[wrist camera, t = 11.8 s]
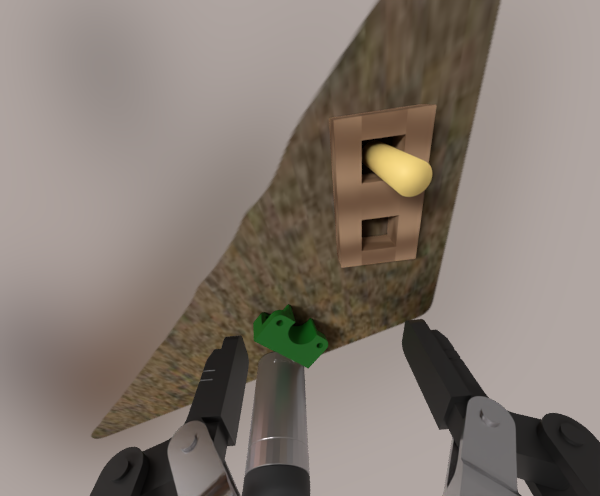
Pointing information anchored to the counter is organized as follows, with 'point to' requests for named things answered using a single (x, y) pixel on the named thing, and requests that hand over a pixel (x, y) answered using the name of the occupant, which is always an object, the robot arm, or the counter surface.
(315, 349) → the clamp
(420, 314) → the counter surface
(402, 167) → the peg
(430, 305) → the counter surface
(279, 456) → the robot arm
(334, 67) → the counter surface
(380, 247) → the hole block
